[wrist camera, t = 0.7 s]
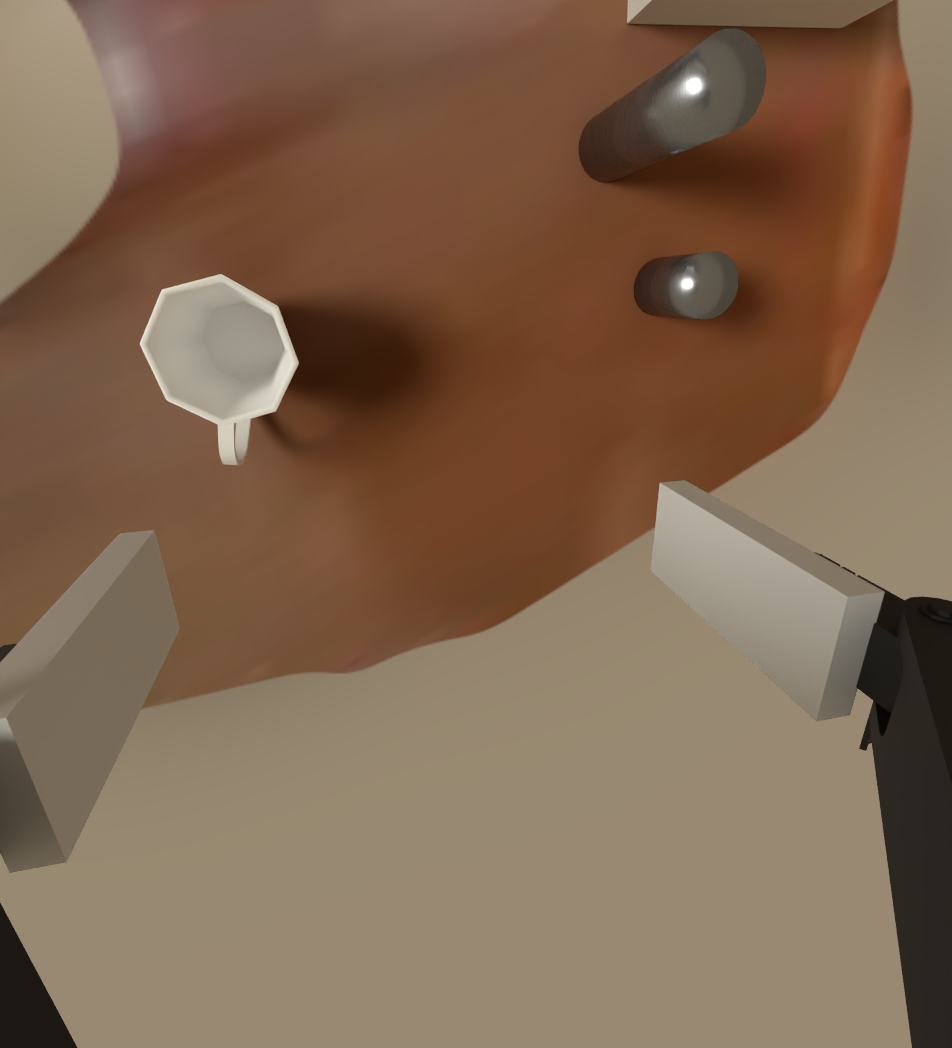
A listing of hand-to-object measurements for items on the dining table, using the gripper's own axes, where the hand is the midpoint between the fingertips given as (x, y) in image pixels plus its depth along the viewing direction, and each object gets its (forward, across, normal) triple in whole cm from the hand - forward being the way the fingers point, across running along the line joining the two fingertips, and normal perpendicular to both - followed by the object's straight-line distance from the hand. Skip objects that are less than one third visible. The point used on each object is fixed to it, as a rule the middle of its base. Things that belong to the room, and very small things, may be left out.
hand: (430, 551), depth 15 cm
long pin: (+24, +15, +14) cm, 32 cm away
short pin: (+24, +19, +6) cm, 32 cm away
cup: (+25, -8, +2) cm, 26 cm away
